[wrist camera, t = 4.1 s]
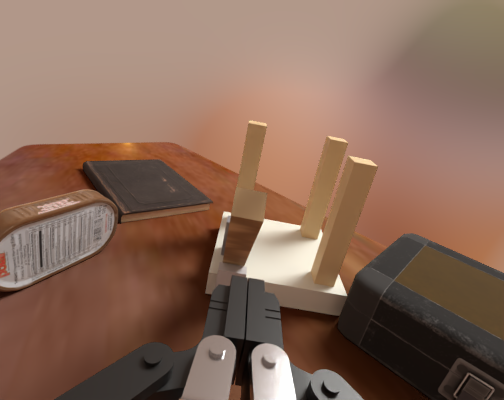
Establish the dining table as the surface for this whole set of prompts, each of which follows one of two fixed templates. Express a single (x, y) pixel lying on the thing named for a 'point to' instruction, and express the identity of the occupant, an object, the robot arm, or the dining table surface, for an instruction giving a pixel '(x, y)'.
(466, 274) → the cash box
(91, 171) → the hardcover book
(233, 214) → the leg
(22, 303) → the dining table surface
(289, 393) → the robot arm
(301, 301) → the stool
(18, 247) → the tin
